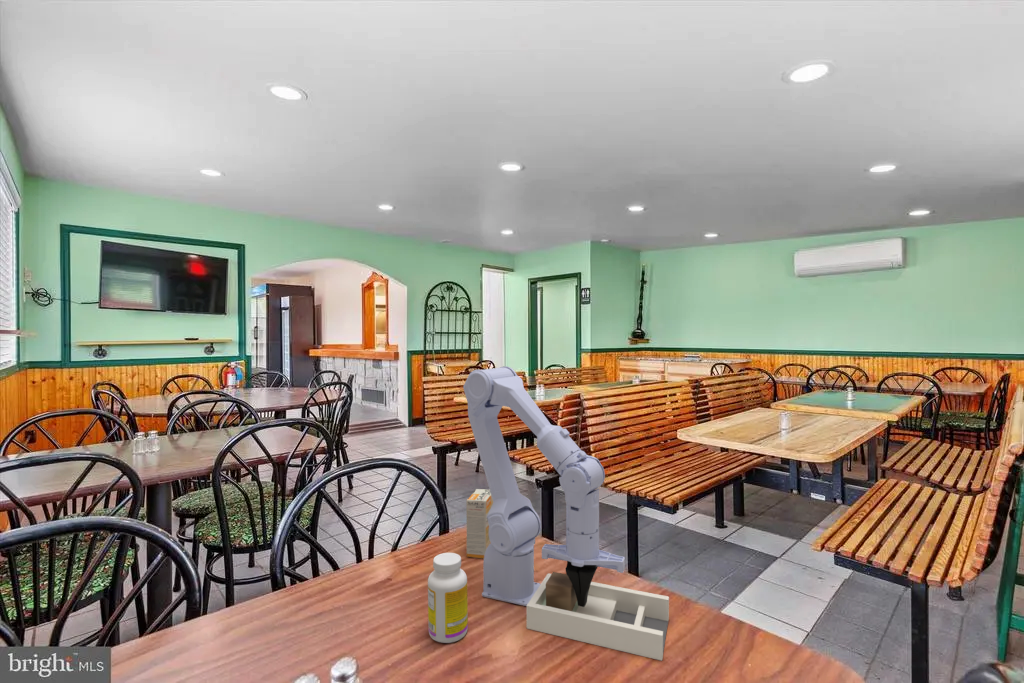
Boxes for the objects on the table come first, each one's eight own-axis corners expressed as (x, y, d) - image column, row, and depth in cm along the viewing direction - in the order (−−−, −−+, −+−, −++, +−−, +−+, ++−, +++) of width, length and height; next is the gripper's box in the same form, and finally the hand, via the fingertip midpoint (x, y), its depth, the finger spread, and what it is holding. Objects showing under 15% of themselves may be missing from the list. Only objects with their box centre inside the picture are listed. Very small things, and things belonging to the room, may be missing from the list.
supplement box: (486, 559, 113) (486, 501, 112) (465, 557, 114) (465, 499, 113) (495, 543, 121) (495, 489, 120) (475, 541, 122) (475, 487, 121)
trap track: (526, 628, 87) (526, 605, 87) (547, 593, 99) (547, 573, 98) (662, 660, 79) (662, 635, 79) (668, 618, 90) (668, 596, 90)
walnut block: (546, 608, 90) (545, 583, 90) (553, 595, 94) (553, 571, 94) (570, 613, 88) (570, 588, 88) (577, 600, 92) (576, 575, 92)
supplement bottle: (473, 625, 88) (473, 553, 88) (457, 648, 82) (457, 570, 82) (439, 618, 91) (438, 547, 90) (421, 640, 84) (420, 564, 84)
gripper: (536, 530, 88) (536, 606, 89) (620, 543, 83) (619, 625, 83) (548, 515, 95) (548, 587, 95) (627, 527, 89) (626, 602, 90)
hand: (582, 603), depth 90 cm, fingers closed
